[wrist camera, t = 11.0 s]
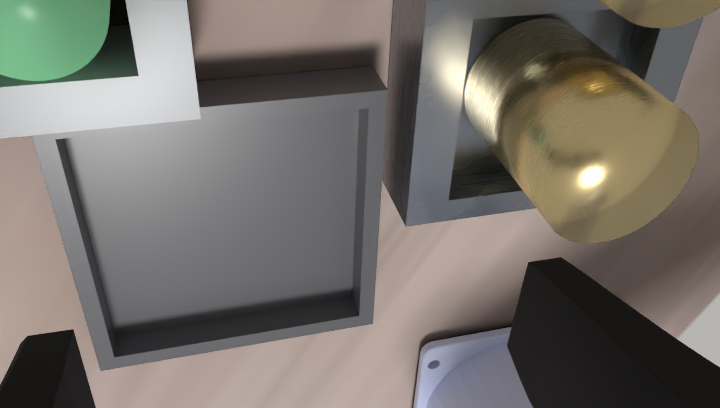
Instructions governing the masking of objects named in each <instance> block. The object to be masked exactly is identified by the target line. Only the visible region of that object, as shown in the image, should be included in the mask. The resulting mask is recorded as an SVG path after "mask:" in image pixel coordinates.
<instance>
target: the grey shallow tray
mask: <svg viewBox="0 0 720 408" xmlns="http://www.w3.org/2000/svg"><path fill="white" fill-rule="evenodd" d="M541 18H550V19H557V20H560V21H563V22H566V23H568V24H570V25H571V26H573V27H574V28H575V29H577V30H578V31H579V32H581V33H582V34H583V35H585V36H586V37H587V38H589V39H590V40H591V41H592V42H594V43H595V44H596V45H598V46H599V47H600V48H602V49H603V50H604V51H606V52H607V53H608V54H609V55H611V56H612V57H613V58H615V59H616V60H617V61H619V62H620V63H621V64H622V65H624V66H625V67H626V68H628V69H629V70H630V71H632V72H633V73H634V74H636V75H637V76H638V77H639V78H641V79H642V80H643V81H645V82H646V83H647V84H649V85H650V86H651V87H653V88H654V89H655V90H656V91H658V92H659V93H660V94H662V95H663V96H664V97H666V98H667V99H668V100H669V101H671V102H672V103H674V100H675V98H676V95H677V92H678V89H679V86H680V83H681V80H682V77H683V74H684V71H685V69H686V66H687V63H688V60H689V57H690V54H691V51H692V48H693V45H694V42H695V39H696V37H697V34H698V31H699V28H700V25H701V22H702V19H703V17H701V18H700V19H697V20H694V21H692V22H689V23H687V24H683V25H679V26H675V27H668V28H650V27H644V26H640V25H637V24H634V23H632V22H630V21H628V20H626V19H625V18H623V17H622V16H620V15H619V14H617V13H616V12H615V11H613V10H612V9H610V8H609V7H607V6H606V5H604V4H603V3H602V2H600V1H599V0H393V13H392V29H391V45H390V60H389V76H388V92H387V108H386V123H385V139H384V155H383V171H382V181H383V183H384V185H385V187H386V188H387V190H388V192H389V194H390V196H391V198H392V200H393V202H394V204H395V206H396V208H397V210H398V212H399V214H400V216H401V218H402V220H403V222H404V224H405V226H413V225H420V224H427V223H434V222H441V221H448V220H455V219H462V218H470V217H477V216H484V215H491V214H498V213H505V212H512V211H519V210H526V209H533V208H536V207H535V205H534V204H533V203H532V201H531V200H530V199H529V198H528V196H527V195H526V194H525V192H524V191H523V190H522V189H521V187H520V186H519V185H518V183H517V182H516V181H515V180H514V178H513V177H512V176H511V174H510V173H509V172H508V171H507V169H506V168H505V167H504V165H503V164H502V163H501V162H500V160H499V159H498V158H497V156H496V155H495V154H494V153H493V151H492V150H491V149H490V147H489V146H488V145H487V144H486V142H485V141H484V140H483V138H482V137H481V136H480V135H479V133H478V132H477V131H476V129H475V128H474V127H473V126H472V124H471V122H470V121H469V119H468V116H467V114H466V109H465V103H464V93H465V86H466V82H467V79H468V76H469V73H470V71H471V69H472V66H473V65H474V63H475V61H476V60H477V58H478V57H479V55H480V54H481V53H482V51H483V50H484V49H485V48H486V47H487V46H488V45H489V44H490V42H492V41H493V40H494V39H495V38H496V37H497V36H499V35H500V34H502V33H503V32H504V31H506V30H508V29H509V28H511V27H513V26H515V25H518V24H520V23H522V22H526V21H529V20H534V19H541Z"/></svg>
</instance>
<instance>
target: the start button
mask: <svg viewBox="0 0 720 408" xmlns="http://www.w3.org/2000/svg"><path fill="white" fill-rule="evenodd" d="M110 3H111V0H0V74H1V75H4V76H7V77H10V78H15V79H20V80H28V81H46V80H53V79H58V78H61V77H65V76H67V75H70V74H72V73H74V72H76V71H78V70H80V69H81V68H83V67H84V66H85V65H87V64H88V63H89V62H90V61H91V60H92V59H93V58H94V57H95V56H96V54H97V53H98V52H99V50H100V49H101V47H102V45H103V43H104V41H105V38H106V35H107V32H108V26H109V17H110Z"/></svg>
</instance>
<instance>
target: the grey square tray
mask: <svg viewBox="0 0 720 408" xmlns="http://www.w3.org/2000/svg"><path fill="white" fill-rule="evenodd" d="M196 83H197V91H198V99H199V108H200V116H201V119H197V120H186V121H176V122H166V123H156V124H145V125H135V126H125V127H114V128H104V129H94V130H83V131H73V132H63V133H52V134H42V135H32V138H33V142H34V145H35V149H36V152H37V155H38V159H39V162H40V166H41V169H42V172H43V176H44V179H45V183H46V186H47V189H48V193H49V196H50V200H51V203H52V207H53V210H54V213H55V217H56V220H57V224H58V227H59V230H60V234H61V237H62V241H63V244H64V247H65V251H66V254H67V258H68V261H69V265H70V268H71V271H72V275H73V278H74V282H75V285H76V288H77V292H78V295H79V299H80V302H81V305H82V309H83V312H84V316H85V319H86V323H87V326H88V329H89V333H90V336H91V340H92V343H93V346H94V350H95V353H96V357H97V360H98V363H99V367H100V370H101V371H103V370H109V369H114V368H120V367H126V366H132V365H137V364H143V363H149V362H155V361H161V360H166V359H172V358H178V357H184V356H189V355H195V354H201V353H207V352H212V351H218V350H224V349H230V348H235V347H241V346H247V345H253V344H259V343H264V342H270V341H276V340H282V339H287V338H293V337H299V336H305V335H310V334H316V333H322V332H328V331H334V330H339V329H345V328H351V327H357V326H362V325H368V324H373V313H374V297H375V281H376V265H377V249H378V234H379V218H380V202H381V186H382V171H383V155H384V139H385V123H386V108H387V92H388V90H387V88H386V87H385V85H384V84H383V82H382V80H381V79H380V77H379V76H378V74H377V73H376V71H375V69H374V68H373V66H371V67H359V68H347V69H335V70H324V71H312V72H300V73H288V74H276V75H265V76H253V77H241V78H229V79H217V80H205V81H196Z"/></svg>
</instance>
